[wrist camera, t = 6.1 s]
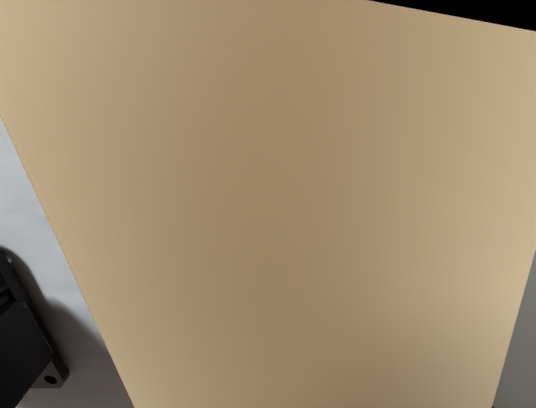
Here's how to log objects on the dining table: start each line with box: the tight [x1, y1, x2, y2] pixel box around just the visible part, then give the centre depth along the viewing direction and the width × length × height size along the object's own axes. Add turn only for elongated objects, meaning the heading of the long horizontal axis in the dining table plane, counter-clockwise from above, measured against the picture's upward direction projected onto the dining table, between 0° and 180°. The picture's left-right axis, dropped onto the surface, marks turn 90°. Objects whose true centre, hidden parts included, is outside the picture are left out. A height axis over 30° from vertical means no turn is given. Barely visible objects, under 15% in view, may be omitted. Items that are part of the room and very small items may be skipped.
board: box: [493, 250, 536, 408], centre depth 8 cm, size 15×21×1 cm
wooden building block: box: [0, 0, 536, 408], centre depth 7 cm, size 4×14×4 cm, turn 6°
